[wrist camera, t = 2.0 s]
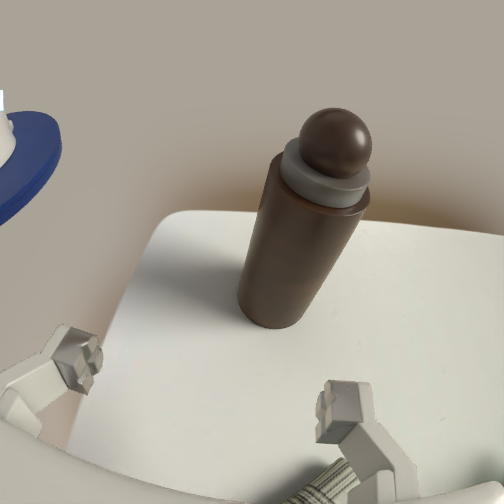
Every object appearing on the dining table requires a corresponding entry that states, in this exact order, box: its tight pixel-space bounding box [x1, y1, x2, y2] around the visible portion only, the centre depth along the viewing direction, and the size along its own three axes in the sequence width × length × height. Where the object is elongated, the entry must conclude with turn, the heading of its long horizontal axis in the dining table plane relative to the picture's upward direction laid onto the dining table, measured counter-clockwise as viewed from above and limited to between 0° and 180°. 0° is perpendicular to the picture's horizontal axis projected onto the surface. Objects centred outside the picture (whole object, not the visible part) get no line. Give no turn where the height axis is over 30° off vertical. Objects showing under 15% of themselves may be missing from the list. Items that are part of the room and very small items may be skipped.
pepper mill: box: [238, 108, 372, 329], centre depth 19 cm, size 6×6×16 cm
